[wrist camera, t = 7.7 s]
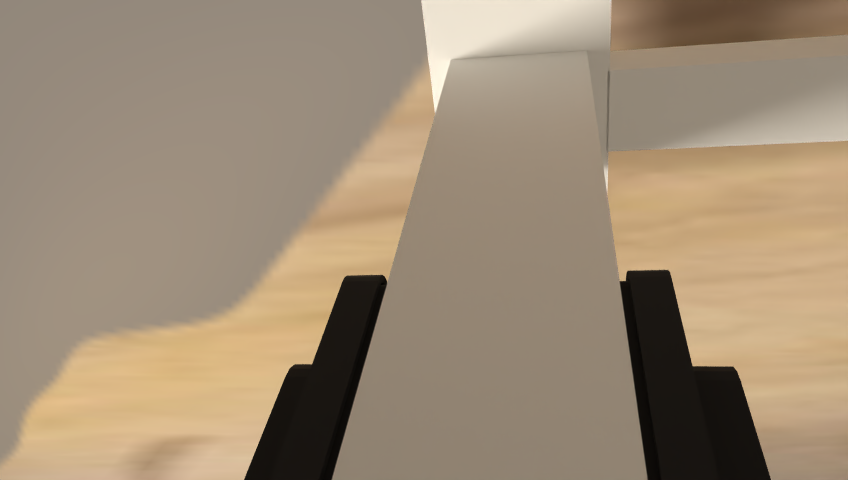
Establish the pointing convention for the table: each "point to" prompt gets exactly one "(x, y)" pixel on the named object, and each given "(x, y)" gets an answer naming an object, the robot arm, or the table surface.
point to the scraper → (546, 234)
